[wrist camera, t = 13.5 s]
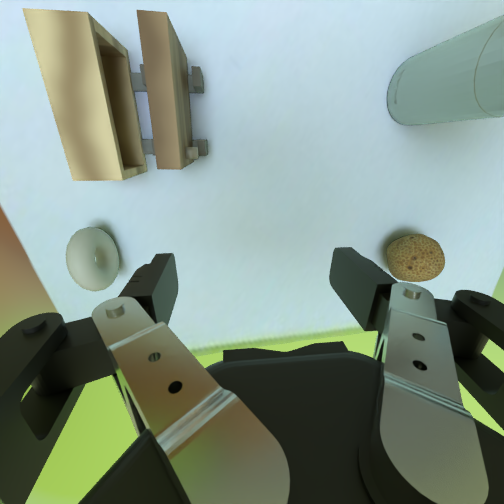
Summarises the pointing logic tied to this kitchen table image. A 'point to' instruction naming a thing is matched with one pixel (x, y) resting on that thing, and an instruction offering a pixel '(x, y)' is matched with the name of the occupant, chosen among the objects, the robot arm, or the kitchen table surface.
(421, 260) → the brown potato
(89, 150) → the cabinet
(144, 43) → the door
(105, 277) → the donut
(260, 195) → the kitchen table surface
